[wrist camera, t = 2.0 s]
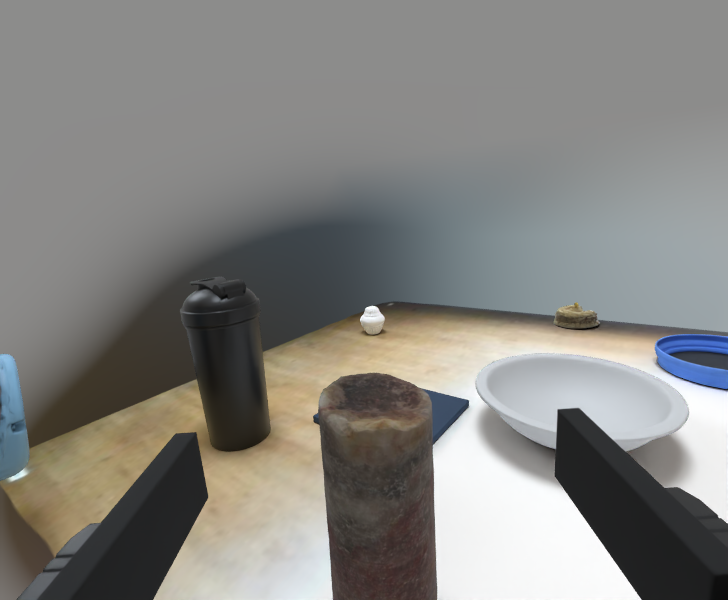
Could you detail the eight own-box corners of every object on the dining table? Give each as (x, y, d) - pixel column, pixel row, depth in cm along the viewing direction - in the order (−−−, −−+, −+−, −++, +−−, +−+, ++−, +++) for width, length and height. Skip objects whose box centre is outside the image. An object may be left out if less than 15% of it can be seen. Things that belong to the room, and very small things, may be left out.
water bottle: (250, 409, 66) (229, 271, 60) (290, 428, 59) (271, 275, 54) (190, 439, 58) (161, 284, 53) (229, 464, 52) (200, 291, 46)
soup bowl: (732, 457, 46) (740, 405, 45) (574, 523, 39) (577, 464, 37) (565, 379, 68) (567, 343, 67) (443, 412, 61) (442, 371, 59)
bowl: (750, 353, 74) (753, 334, 73) (829, 399, 57) (835, 376, 56) (638, 349, 79) (639, 332, 78) (680, 391, 62) (683, 369, 61)
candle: (397, 578, 34) (384, 361, 30) (462, 651, 28) (459, 395, 24) (319, 635, 30) (290, 393, 26) (376, 735, 24) (352, 443, 20)
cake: (570, 334, 91) (569, 311, 90) (544, 322, 101) (543, 302, 100) (609, 326, 92) (609, 303, 91) (580, 315, 102) (580, 295, 101)
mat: (313, 421, 61) (312, 415, 60) (375, 381, 73) (374, 376, 73) (417, 461, 50) (417, 453, 50) (469, 406, 62) (469, 400, 62)
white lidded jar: (366, 328, 105) (364, 302, 103) (388, 329, 102) (387, 302, 101) (357, 335, 99) (355, 308, 97) (380, 337, 97) (379, 309, 95)
